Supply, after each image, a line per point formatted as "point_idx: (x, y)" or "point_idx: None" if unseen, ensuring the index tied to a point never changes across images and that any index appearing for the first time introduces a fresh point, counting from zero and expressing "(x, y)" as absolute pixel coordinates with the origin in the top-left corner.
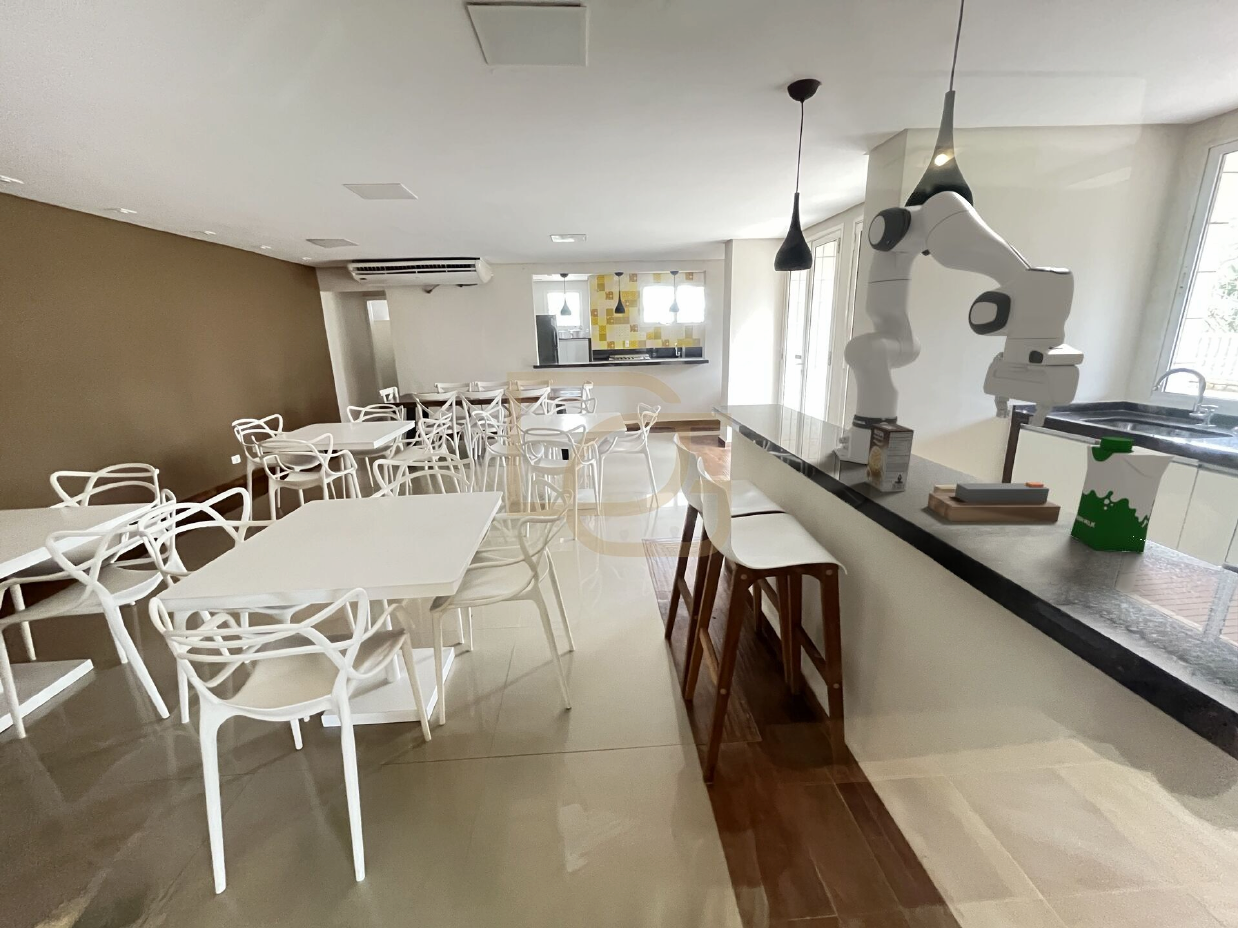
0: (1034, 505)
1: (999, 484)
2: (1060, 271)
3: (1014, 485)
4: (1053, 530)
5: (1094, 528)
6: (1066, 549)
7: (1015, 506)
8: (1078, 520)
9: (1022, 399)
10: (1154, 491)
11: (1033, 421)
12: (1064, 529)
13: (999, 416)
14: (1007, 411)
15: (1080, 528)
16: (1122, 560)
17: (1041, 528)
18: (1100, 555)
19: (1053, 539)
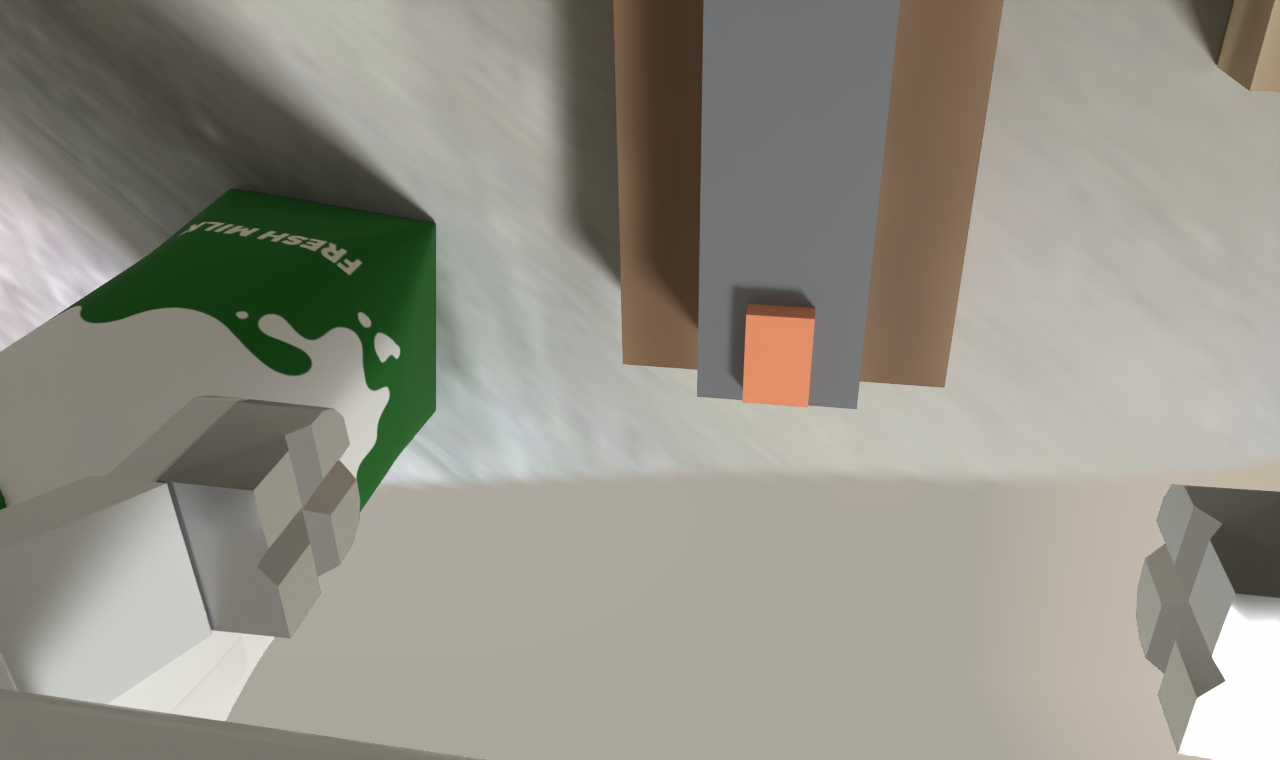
0: (642, 214)
1: (847, 94)
2: None
3: (805, 207)
4: (507, 189)
5: (195, 223)
6: (211, 36)
7: (617, 56)
8: (314, 237)
9: (190, 740)
10: None
11: (177, 433)
12: (529, 264)
13: (1223, 489)
14: (1184, 683)
15: (314, 222)
16: (131, 209)
17: (536, 142)
18: (169, 155)
19: (356, 77)
